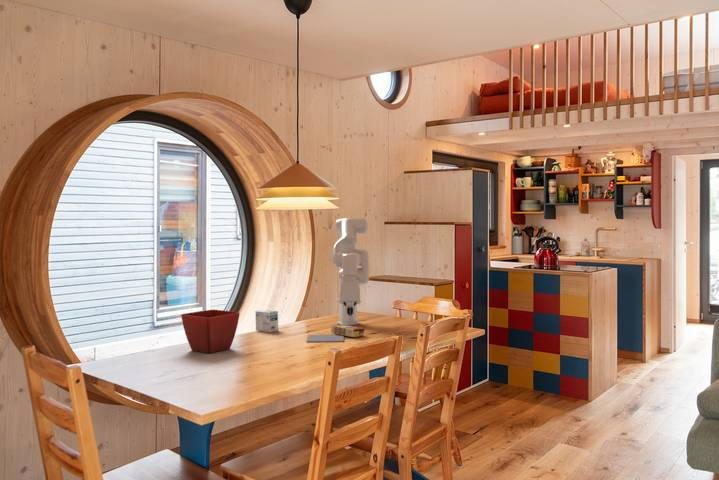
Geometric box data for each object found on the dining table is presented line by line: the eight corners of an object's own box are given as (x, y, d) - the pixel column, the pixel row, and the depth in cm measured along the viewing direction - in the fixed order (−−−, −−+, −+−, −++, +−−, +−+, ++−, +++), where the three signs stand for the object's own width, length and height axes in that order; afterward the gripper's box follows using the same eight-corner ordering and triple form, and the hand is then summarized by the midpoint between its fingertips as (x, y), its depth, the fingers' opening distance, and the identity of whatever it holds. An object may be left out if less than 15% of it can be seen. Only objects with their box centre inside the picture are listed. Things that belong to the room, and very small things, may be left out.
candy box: (353, 328, 293) (330, 325, 303) (353, 337, 293) (330, 333, 303) (364, 327, 300) (342, 324, 310) (364, 335, 300) (342, 332, 310)
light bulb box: (278, 330, 316) (278, 310, 316) (270, 332, 310) (270, 312, 310) (263, 328, 322) (263, 309, 321) (255, 330, 316) (254, 310, 316)
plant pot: (213, 343, 284) (212, 308, 283) (241, 348, 273) (240, 312, 272) (180, 351, 268) (180, 314, 268) (208, 356, 257) (208, 318, 257)
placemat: (308, 335, 301) (308, 334, 301) (343, 335, 302) (343, 334, 302) (306, 342, 285) (306, 341, 285) (343, 341, 286) (343, 340, 286)
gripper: (364, 277, 297) (364, 313, 297) (334, 278, 296) (335, 314, 297) (365, 279, 289) (365, 316, 290) (334, 279, 289) (335, 316, 289)
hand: (350, 315), depth 293 cm, fingers closed
